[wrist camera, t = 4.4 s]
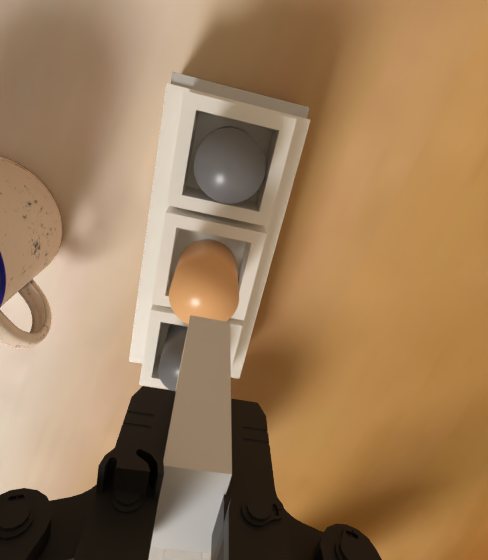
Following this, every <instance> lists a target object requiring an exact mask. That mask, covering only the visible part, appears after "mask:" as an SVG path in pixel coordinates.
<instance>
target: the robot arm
mask: <svg viewBox="0 0 488 560" xmlns="http://www.w3.org/2000/svg"><path fill="white" fill-rule="evenodd" d="M210 545H211V560H382V559H381V557H380V556H379V554H378V552H377V550H376V549H375V547H374V546H373V545H372V543H371V542H370V540H369V539H368V538H367V537H366V536H365V535H363V534H362V533H361V532H360V531H359V530H357V529H355V528H353V527H351V526H348V525H344V524H335V525H332V526H330V527H327V529H326V530H325V531H324V533H323V532H321V531H319V530H317V529H315V528H312V527H310V526H308V525H306V524H304V523H302V522H300V521H298V520H297V519H295V518H293V517H292V516H291V515H290V514H289V513H288V512H287V511H286V510H285V509H284V507H283V504H282V503H281V502H280V500H279V499H278V498H277V495H276V491H275V486H274V478H273V470H272V462H271V454H270V446H269V438H268V433H267V422H266V416H265V414H264V412H263V411H262V409H261V407H260V406H259V404H258V403H255V402H249V401H242V400H236V399H231V358H230V322H226V321H220V320H215V319H209V318H204V317H198V316H193V315H190V319H189V324H188V329H187V334H186V339H185V344H184V349H183V354H182V359H181V364H180V369H179V374H178V379H177V385H176V390H175V391H171V390H164V389H158V388H151V387H145V386H143V387H141V388H140V389H139V390H138V391H137V392H136V393H135V394H134V395H133V396H132V398H131V401H130V404H129V407H128V410H127V413H126V416H125V419H124V422H123V425H122V428H121V431H120V434H119V437H118V440H117V443H116V446H115V448H114V449H113V450H112V451H110V452H109V453H108V454H106V455H105V456H104V458H103V460H102V461H101V463H100V464H99V469H98V478H97V485H95V486H94V487H93V488H92V489H90V490H88V491H86V492H84V493H82V494H80V495H76V496H73V497H69V498H63V499H58V500H52V501H49V500H48V498H47V496H45V495H44V494H42V493H41V492H39V491H38V490H33V489H26V488H22V489H16V490H10V491H8V492H6V493H3V494H1V495H0V560H148V559H149V553H150V547H154V548H164V549H174V550H183V551H193V552H203V553H208V552H209V549H210Z"/></svg>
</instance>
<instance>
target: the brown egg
mask: <svg viewBox="0 0 488 560" xmlns="http://www.w3.org/2000/svg"><path fill="white" fill-rule="evenodd" d="M169 302H170V305H171V308H172V310H173V312H174V313H175V315H176V316H177V317H178V318H179V319H180V320H182V321H183V322H184V323H186V324H189V319H190V315H193V316H198V317H204V318H209V319H215V320H220V321H228V320H229V319H230V318H231V317H232V316H233V314H234V313H235V311H236V309H237V307H238V304H239V287H238V274H237V263H236V259H235V257H234V255H233V253H232V251H231V250H230V249H229V248H228V247H227V246H226V245H224V244H223V243H221V242H218V241H215V240H210V239H204V240H198V241H195V242H193V243H191V244H190V245H188V246H187V247H186V248H185V249H184V250H183V252H182V253H181V255H180V258H179V261H178V264H177V267H176V271H175V274H174V277H173V280H172V284H171V287H170V291H169Z"/></svg>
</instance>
